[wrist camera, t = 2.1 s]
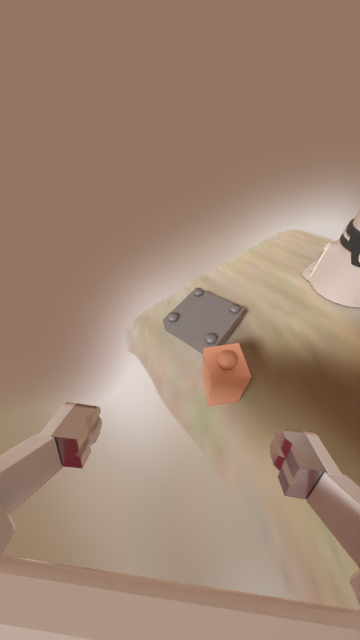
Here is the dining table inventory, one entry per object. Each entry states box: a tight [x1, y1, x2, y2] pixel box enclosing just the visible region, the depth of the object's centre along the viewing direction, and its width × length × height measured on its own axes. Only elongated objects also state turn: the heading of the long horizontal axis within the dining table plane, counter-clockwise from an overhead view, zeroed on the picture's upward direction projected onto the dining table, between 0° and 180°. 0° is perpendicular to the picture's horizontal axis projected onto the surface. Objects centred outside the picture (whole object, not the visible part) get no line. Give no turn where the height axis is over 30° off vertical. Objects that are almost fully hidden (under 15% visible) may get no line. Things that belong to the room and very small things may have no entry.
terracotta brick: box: [202, 343, 251, 406], centre depth 28 cm, size 5×5×11 cm
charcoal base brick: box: [163, 288, 244, 353], centre depth 40 cm, size 12×12×5 cm
